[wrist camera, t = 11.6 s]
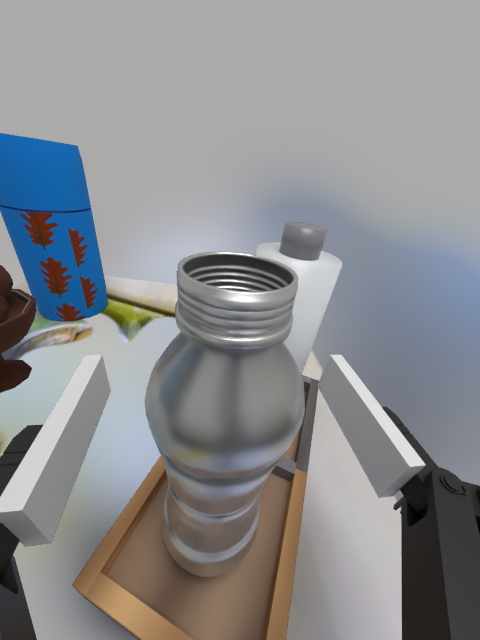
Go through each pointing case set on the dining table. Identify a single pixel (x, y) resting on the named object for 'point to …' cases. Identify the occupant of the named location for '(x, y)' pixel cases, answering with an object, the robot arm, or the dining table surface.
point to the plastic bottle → (224, 404)
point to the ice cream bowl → (13, 329)
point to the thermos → (52, 226)
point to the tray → (194, 591)
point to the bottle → (305, 281)
